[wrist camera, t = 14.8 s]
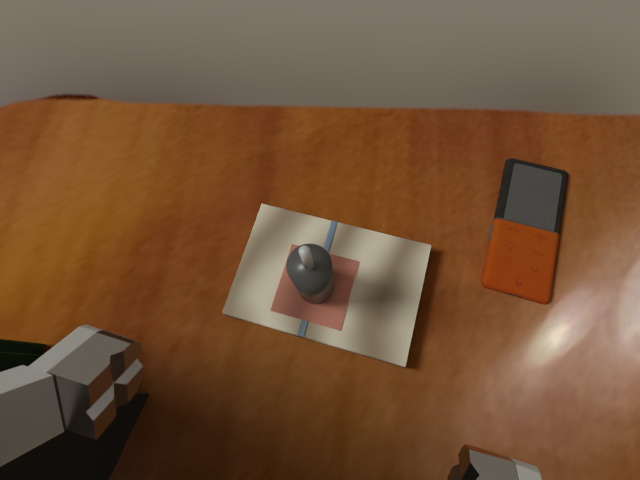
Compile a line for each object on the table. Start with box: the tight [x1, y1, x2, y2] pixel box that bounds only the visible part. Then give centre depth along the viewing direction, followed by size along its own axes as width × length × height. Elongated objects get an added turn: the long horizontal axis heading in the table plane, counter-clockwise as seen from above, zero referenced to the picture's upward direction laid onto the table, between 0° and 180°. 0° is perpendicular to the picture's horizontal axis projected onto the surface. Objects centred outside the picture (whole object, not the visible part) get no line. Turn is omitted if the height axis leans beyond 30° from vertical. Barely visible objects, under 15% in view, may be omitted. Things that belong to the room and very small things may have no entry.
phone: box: [481, 158, 568, 304], centre depth 41 cm, size 6×1×15 cm
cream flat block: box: [222, 204, 431, 367], centre depth 40 cm, size 18×12×2 cm, turn 74°
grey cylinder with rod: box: [286, 244, 334, 304], centre depth 33 cm, size 4×4×12 cm
